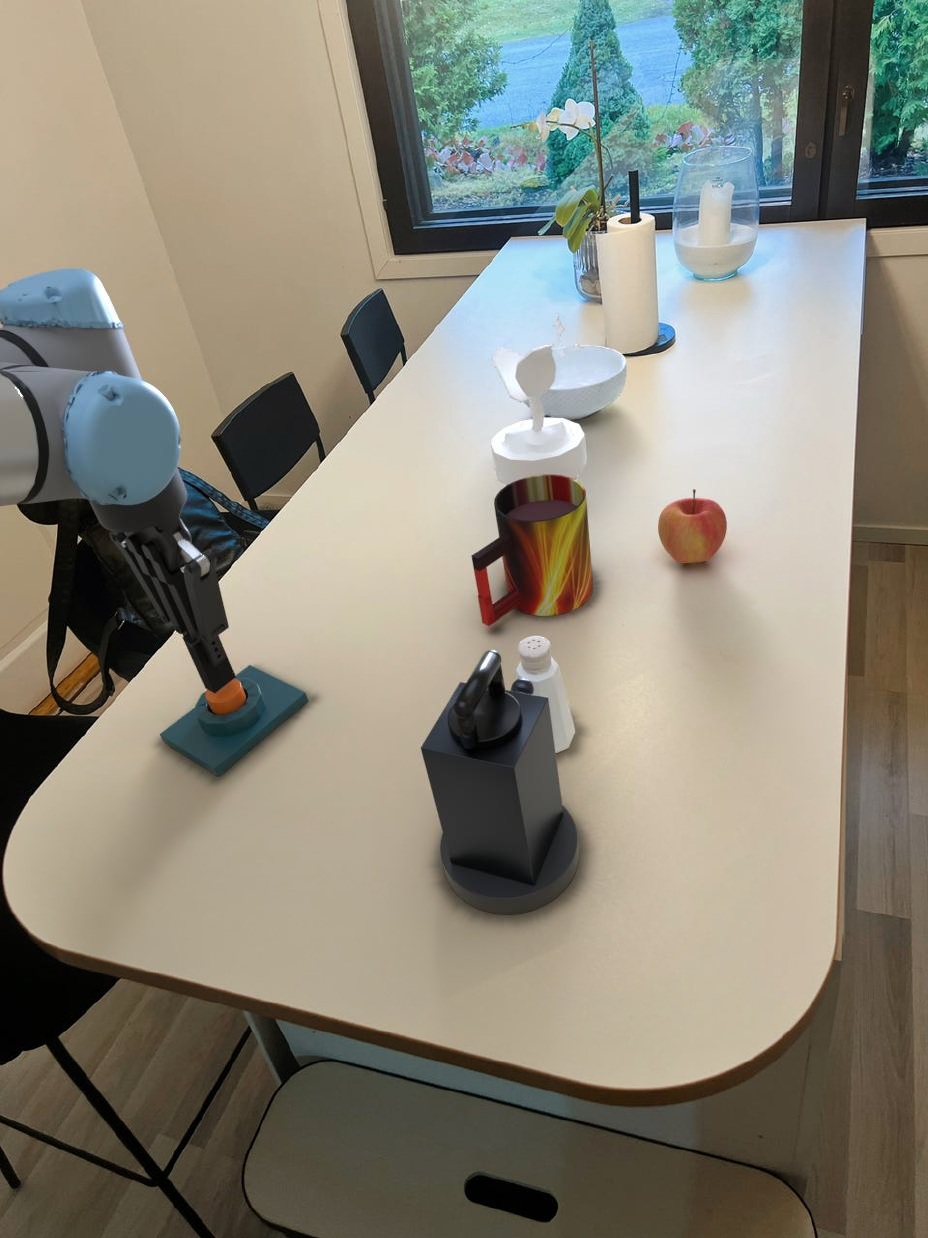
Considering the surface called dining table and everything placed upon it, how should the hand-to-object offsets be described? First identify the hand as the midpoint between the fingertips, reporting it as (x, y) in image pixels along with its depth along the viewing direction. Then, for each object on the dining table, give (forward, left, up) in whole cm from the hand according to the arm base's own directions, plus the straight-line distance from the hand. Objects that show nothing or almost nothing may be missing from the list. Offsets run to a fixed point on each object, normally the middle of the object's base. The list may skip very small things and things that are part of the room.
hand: (220, 682), depth 86 cm
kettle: (+15, -30, -3) cm, 33 cm away
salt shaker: (+23, -22, -6) cm, 32 cm away
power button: (0, 0, -3) cm, 3 cm away
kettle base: (+13, -31, -5) cm, 34 cm away
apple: (+52, -10, -6) cm, 53 cm away
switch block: (0, 0, -5) cm, 5 cm away
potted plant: (+47, +12, -6) cm, 49 cm away
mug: (+35, -5, -6) cm, 36 cm away
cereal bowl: (+67, +32, -6) cm, 74 cm away
